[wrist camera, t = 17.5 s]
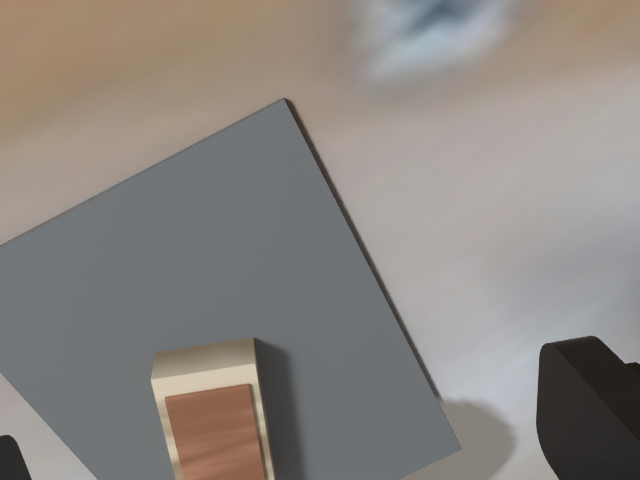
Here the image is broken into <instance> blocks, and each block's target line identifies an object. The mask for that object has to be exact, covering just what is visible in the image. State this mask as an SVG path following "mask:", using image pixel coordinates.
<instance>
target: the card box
mask: <svg viewBox="0 0 640 480" xmlns="http://www.w3.org/2000/svg"><path fill="white" fill-rule="evenodd" d="M151 384H152V388H153V392H154V396H155V399H156V403H157V407H158V411H159V415H160V419H161V423H162V427H163V431H164V435H165V439H166V443H167V447H168V451H169V455H170V459H171V463H172V467H173V471H174V475H175V479H176V480H276V474H275V468H274V462H273V456H272V449H271V443H270V437H269V431H268V425H267V419H266V412H265V406H264V400H263V394H262V388H261V382H260V376H259V369H258V363H257V357H256V351H255V345H254V339H253V337H251V338H245V339H238V340H232V341H226V342H219V343H213V344H206V345H200V346H193V347H187V348H181V349H174V350H168V351H161V352H156V354H155V359H154V365H153V370H152V375H151Z"/></svg>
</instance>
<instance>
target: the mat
mask: <svg viewBox="0 0 640 480" xmlns="http://www.w3.org/2000/svg"><path fill="white" fill-rule="evenodd" d="M251 337H253V339H254V345H255V351H256V357H257V363H258V369H259V376H260V382H261V388H262V394H263V400H264V406H265V412H266V419H267V425H268V431H269V437H270V443H271V449H272V456H273V462H274V468H275V474H276V480H398V479H400V478H402V477H404V476H406V475H409V474H411V473H413V472H415V471H417V470H419V469H421V468H423V467H425V466H427V465H430V464H432V463H434V462H436V461H438V460H440V459H442V458H444V457H446V456H449V455H451V454H453V453H455V452H457V451H459V450H461V449H462V448H461V446H460V444H459V442H458V440H457V438H456V436H455V434H454V432H453V430H452V428H451V426H450V424H449V422H448V420H447V418H446V416H445V414H444V412H443V410H442V408H441V407H440V404H439V403H438V401H437V399H436V397H435V395H434V393H433V391H432V389H431V387H430V385H429V383H428V381H427V379H426V377H425V375H424V373H423V371H422V369H421V367H420V365H419V363H418V361H417V359H416V357H415V355H414V353H413V351H412V349H411V347H410V345H409V344H408V342H407V340H406V338H405V336H404V334H403V332H402V330H401V328H400V326H399V324H398V322H397V320H396V318H395V316H394V314H393V312H392V310H391V308H390V306H389V304H388V302H387V300H386V298H385V296H384V294H383V292H382V290H381V288H380V287H379V285H378V283H377V281H376V279H375V277H374V275H373V273H372V271H371V269H370V267H369V265H368V263H367V261H366V259H365V257H364V255H363V253H362V251H361V249H360V247H359V245H358V243H357V241H356V239H355V237H354V235H353V233H352V231H351V229H350V228H349V226H348V224H347V222H346V220H345V218H344V216H343V214H342V212H341V210H340V208H339V206H338V204H337V202H336V200H335V198H334V196H333V194H332V192H331V190H330V188H329V186H328V184H327V182H326V180H325V178H324V176H323V174H322V172H321V170H320V169H319V167H318V165H317V163H316V161H315V159H314V157H313V155H312V153H311V151H310V149H309V147H308V145H307V143H306V141H305V139H304V137H303V135H302V133H301V131H300V129H299V127H298V125H297V123H296V121H295V119H294V117H293V115H292V113H291V112H290V110H289V108H288V106H287V104H286V102H285V100H284V98H282V99H280V100H278V101H276V102H274V103H272V104H270V105H268V106H266V107H264V108H262V109H261V110H259V111H257V112H255V113H253V114H251V115H249V116H247V117H245V118H243V119H241V120H240V121H238V122H236V123H234V124H232V125H230V126H228V127H226V128H224V129H222V130H220V131H218V132H217V133H215V134H213V135H211V136H209V137H207V138H205V139H203V140H201V141H199V142H197V143H195V144H194V145H192V146H190V147H188V148H186V149H184V150H182V151H180V152H178V153H176V154H174V155H173V156H171V157H169V158H167V159H165V160H163V161H161V162H159V163H157V164H155V165H153V166H151V167H150V168H148V169H146V170H144V171H142V172H140V173H138V174H136V175H134V176H132V177H130V178H129V179H127V180H125V181H123V182H121V183H119V184H117V185H115V186H113V187H111V188H109V189H107V190H106V191H104V192H102V193H100V194H98V195H96V196H94V197H92V198H90V199H88V200H86V201H84V202H83V203H81V204H79V205H77V206H75V207H73V208H71V209H69V210H67V211H65V212H63V213H62V214H60V215H58V216H56V217H54V218H52V219H50V220H48V221H46V222H44V223H42V224H40V225H39V226H37V227H35V228H33V229H31V230H29V231H27V232H25V233H23V234H21V235H19V236H17V237H16V238H14V239H12V240H10V241H8V242H6V243H4V244H2V245H0V373H1V374H2V375H3V376H4V377H5V378H6V379H7V380H8V381H9V382H10V384H11V385H12V386H13V387H14V388H15V389H16V390H17V391H18V392H19V393H20V395H21V396H22V397H23V398H24V399H25V400H26V401H27V402H28V403H29V404H30V406H31V407H32V408H33V409H34V410H35V411H36V412H37V413H38V414H39V415H40V417H41V418H42V419H43V420H44V421H45V422H46V423H47V424H48V425H49V426H50V428H51V429H52V430H53V431H54V432H55V433H56V434H57V435H58V436H59V437H60V439H61V440H62V441H63V442H64V443H65V444H66V445H67V446H68V447H69V449H70V450H71V451H72V452H73V453H74V454H75V455H76V456H77V457H78V458H79V460H80V461H81V462H82V463H83V464H84V465H85V466H86V467H87V468H88V469H89V471H90V472H91V473H92V474H93V475H94V476H95V477H96V478H97V479H98V480H176V479H175V475H174V471H173V467H172V463H171V459H170V455H169V451H168V447H167V443H166V439H165V435H164V431H163V427H162V423H161V419H160V415H159V411H158V407H157V403H156V399H155V396H154V392H153V388H152V384H151V375H152V370H153V365H154V359H155V354H156V352H161V351H168V350H174V349H181V348H187V347H193V346H200V345H206V344H213V343H219V342H226V341H232V340H238V339H245V338H251Z"/></svg>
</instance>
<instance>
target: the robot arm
mask: <svg viewBox="0 0 640 480" xmlns="http://www.w3.org/2000/svg"><path fill="white" fill-rule="evenodd" d="M536 426H537V434H538V438H539V442H540V445H541V448H542V451H543V453H544V456H545V458H546V460H547V461H548V463H549V465H550V466H551V468H552V469H553V471H554V472H555V474H556V475H557V477H558V478H559V480H640V364H638V363H636V362H634V363H628V364H625V363H624V362H623V361H622V360H621V359H620V358H619V357H618V356H617V355H616V354H615V353H613V352H612V351H611V350H610V349H609V348H608V347H607V346H606V345H605V344H604V343H603V342H602V341H601V340H600V339H599V338H597V337H595V336H587V337H581V338H575V339H569V340H564V341H558V342H552V343H546V344H544V345H543V346H542V348H541V351H540V357H539V376H538V395H537V415H536ZM0 480H32V479H31V477H30V474H29V472H28V469H27V466H26V464H25V461H24V459H23V456H22V454H21V451H20V449H19V446H18V444H17V442H16V441H15V439H14V438H13V437H11V436H9V435H3V436H0Z"/></svg>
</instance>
